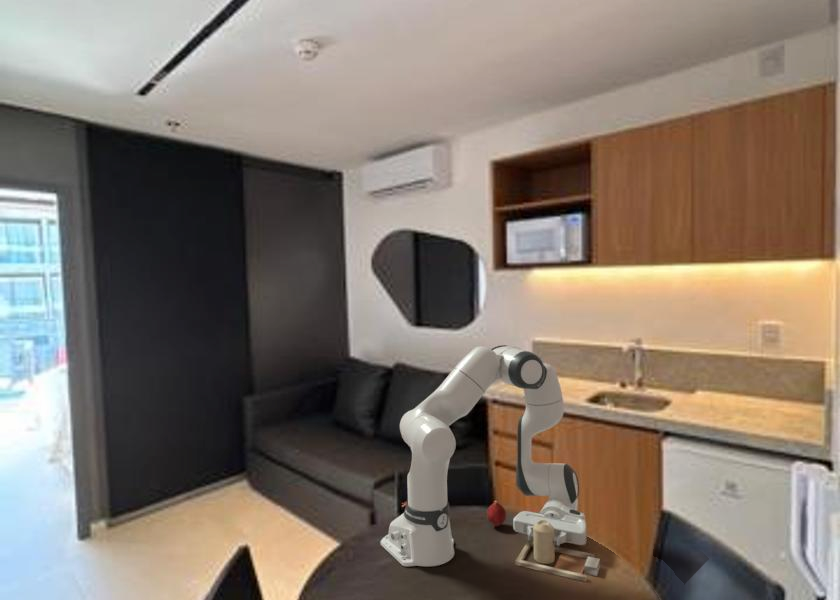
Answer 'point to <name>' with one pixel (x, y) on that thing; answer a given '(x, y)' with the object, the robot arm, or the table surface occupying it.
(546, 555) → the candle
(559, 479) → the robot arm
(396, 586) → the table surface
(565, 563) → the beige frame
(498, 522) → the onion
